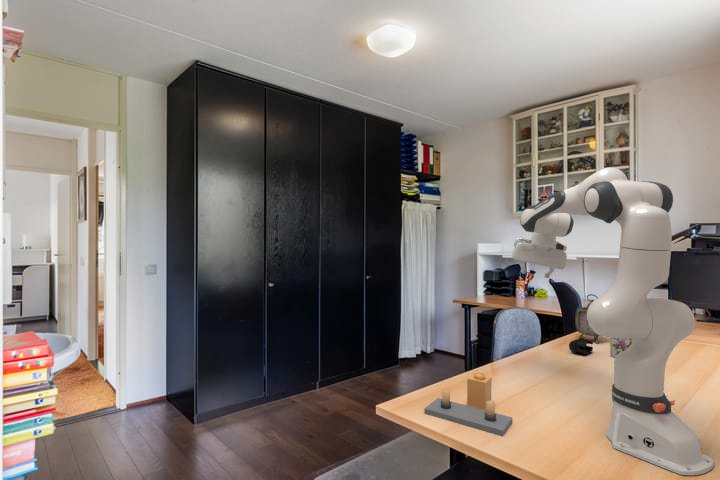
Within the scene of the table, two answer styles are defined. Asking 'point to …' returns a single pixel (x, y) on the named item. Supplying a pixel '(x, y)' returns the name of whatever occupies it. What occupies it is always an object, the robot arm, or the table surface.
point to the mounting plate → (469, 414)
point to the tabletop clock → (584, 321)
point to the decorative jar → (619, 345)
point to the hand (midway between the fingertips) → (534, 275)
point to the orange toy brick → (478, 390)
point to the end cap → (581, 347)
